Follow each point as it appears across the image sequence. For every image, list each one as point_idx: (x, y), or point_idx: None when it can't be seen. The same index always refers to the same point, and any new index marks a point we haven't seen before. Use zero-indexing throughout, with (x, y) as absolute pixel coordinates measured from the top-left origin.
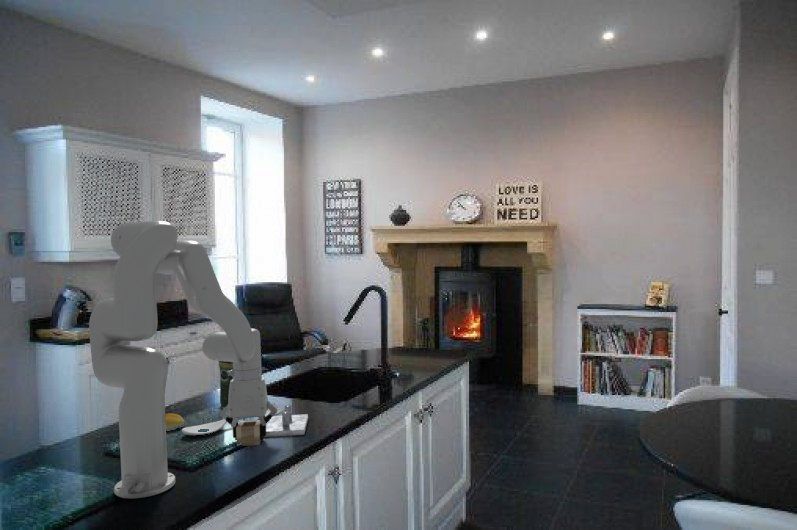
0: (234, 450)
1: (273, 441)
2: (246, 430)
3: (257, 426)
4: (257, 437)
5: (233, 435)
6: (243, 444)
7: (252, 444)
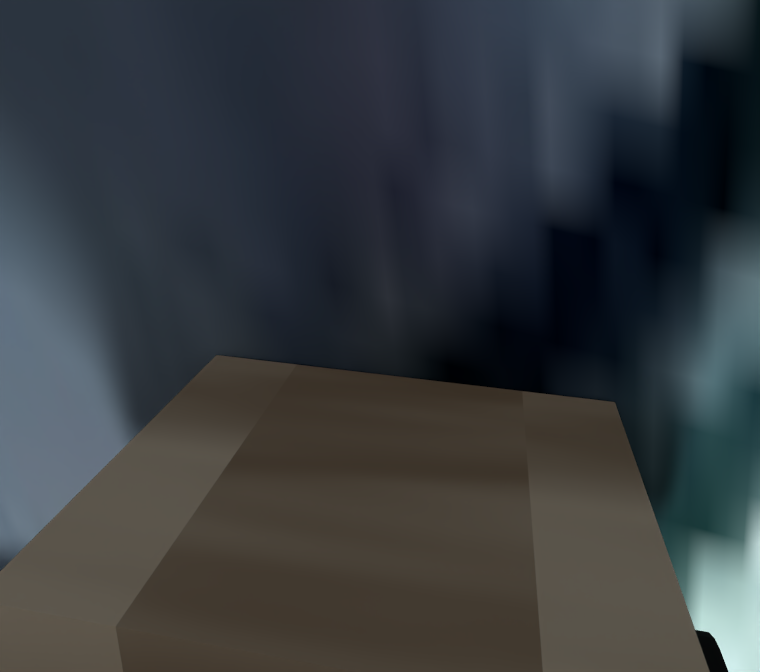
0: (662, 171)
1: (43, 448)
2: (375, 582)
3: (9, 612)
4: (182, 423)
5: (713, 662)
6: (487, 398)
7: (327, 375)
